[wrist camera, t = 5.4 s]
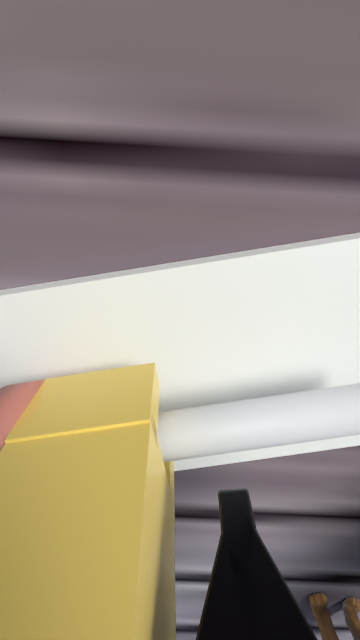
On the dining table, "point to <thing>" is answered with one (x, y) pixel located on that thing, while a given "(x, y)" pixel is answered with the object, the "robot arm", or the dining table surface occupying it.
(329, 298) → the cord rail
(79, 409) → the yellow pegged block
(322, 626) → the lion figurine
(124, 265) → the dining table surface
